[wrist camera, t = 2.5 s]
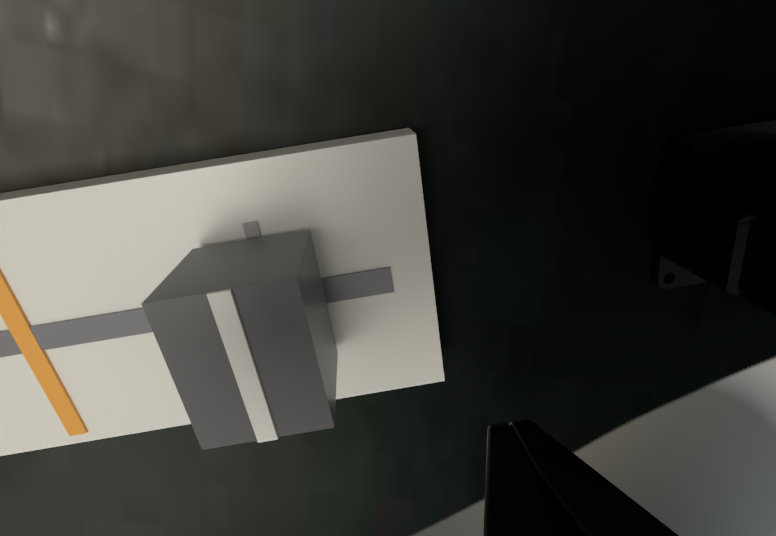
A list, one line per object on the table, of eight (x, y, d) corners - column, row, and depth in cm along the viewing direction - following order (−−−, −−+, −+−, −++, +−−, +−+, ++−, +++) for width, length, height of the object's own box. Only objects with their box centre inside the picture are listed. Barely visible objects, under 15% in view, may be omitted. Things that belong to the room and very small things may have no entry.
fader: (310, 229, 15) (296, 279, 11) (337, 352, 17) (334, 429, 13) (192, 248, 15) (139, 305, 11) (234, 369, 17) (201, 452, 13)
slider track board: (408, 127, 16) (416, 134, 14) (436, 353, 20) (445, 382, 18) (-138, 215, 16) (-206, 234, 14) (-2, 427, 20) (-40, 464, 18)
